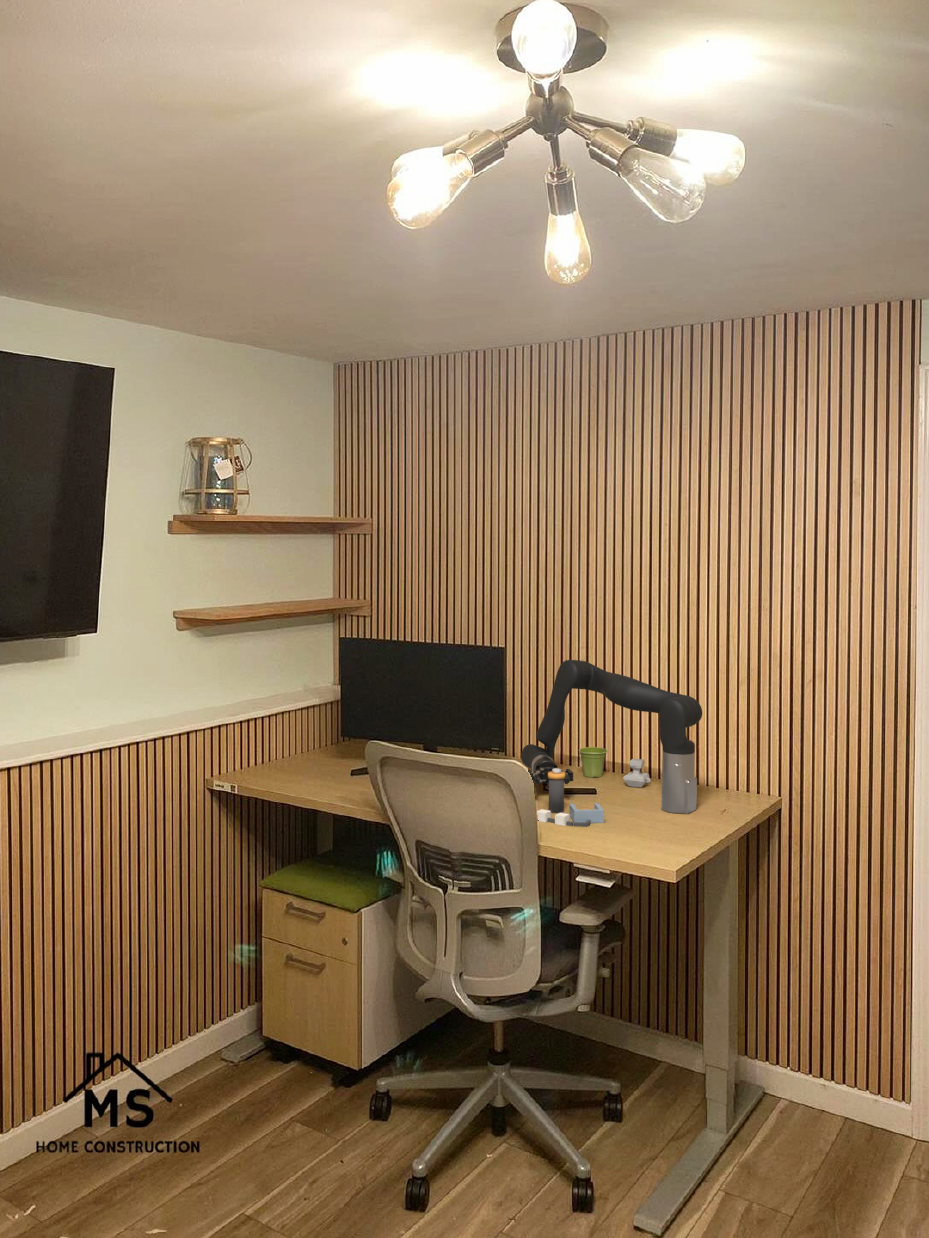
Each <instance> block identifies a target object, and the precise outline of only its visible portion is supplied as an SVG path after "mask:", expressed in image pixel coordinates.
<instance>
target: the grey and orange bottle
mask: <svg viewBox="0 0 929 1238" xmlns="http://www.w3.org/2000/svg"><path fill="white" fill-rule="evenodd" d="M561 770H562V769H561V768H559V767H558V768H553V769H552V771H551V772H548V778H549V784H548V811H551V814H558V813H565V783H564V778H565V773H564V771H563V772H561Z"/></svg>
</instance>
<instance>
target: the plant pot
mask: <svg viewBox="0 0 929 1238" xmlns="http://www.w3.org/2000/svg"><path fill="white" fill-rule="evenodd" d="M578 752H579V754H580V755H579V756H580V757H581V762H582V771H583V775H584V777H586V778H594V777H595V778H600V777H602V776H603V771H604V764H605V759H606V758H605V757H606V755H607V753H608V748H607V749H606V748H603V747H597V746H586V747H581V748H579V749H578Z"/></svg>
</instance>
